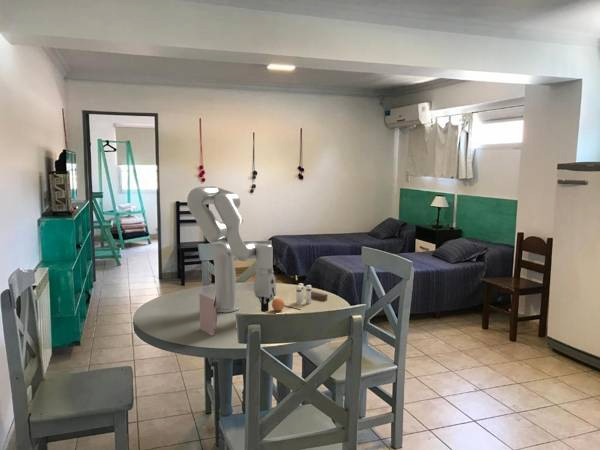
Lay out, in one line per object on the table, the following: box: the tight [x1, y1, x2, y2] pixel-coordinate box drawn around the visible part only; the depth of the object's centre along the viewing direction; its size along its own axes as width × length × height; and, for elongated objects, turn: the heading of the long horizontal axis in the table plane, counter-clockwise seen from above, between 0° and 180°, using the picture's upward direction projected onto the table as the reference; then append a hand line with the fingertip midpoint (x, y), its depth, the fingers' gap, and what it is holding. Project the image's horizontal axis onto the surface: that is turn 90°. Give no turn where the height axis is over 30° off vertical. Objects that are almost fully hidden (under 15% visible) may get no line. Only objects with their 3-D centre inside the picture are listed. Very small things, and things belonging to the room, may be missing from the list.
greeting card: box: [199, 293, 218, 336], centre depth 194 cm, size 11×7×15 cm, turn 5°
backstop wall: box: [311, 290, 328, 302], centre depth 248 cm, size 2×12×3 cm, turn 50°
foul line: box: [284, 305, 302, 311], centre depth 232 cm, size 1×14×1 cm, turn 50°
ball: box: [271, 297, 286, 312], centre depth 225 cm, size 6×6×6 cm
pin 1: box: [298, 282, 304, 303], centre depth 241 cm, size 2×2×9 cm
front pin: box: [295, 285, 302, 306], centre depth 236 cm, size 2×2×9 cm
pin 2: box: [305, 284, 312, 305], centre depth 238 cm, size 2×2×9 cm
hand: (264, 311), depth 218 cm, fingers closed
